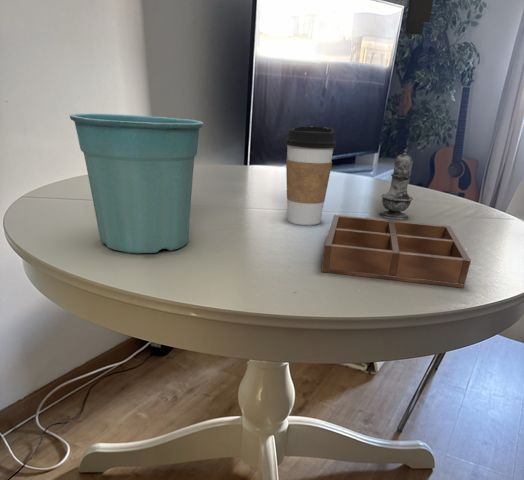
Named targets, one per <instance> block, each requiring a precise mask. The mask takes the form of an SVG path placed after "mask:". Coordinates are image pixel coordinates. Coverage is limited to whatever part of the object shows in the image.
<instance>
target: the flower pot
mask: <svg viewBox="0 0 524 480" xmlns="http://www.w3.org/2000/svg"><path fill="white" fill-rule="evenodd" d="M69 119H70V120H71V121H73V122H74V127H75V130H76V134H77V139H78V145H79V149H80V151H81V152H82V153H83V156H84V157H83V158H84V161H85V166H86V171H87V177H88V181H89V182H88V183H89V187H90V192H91V198H92V203H93V208H94V214H95V219H96V224H97V229H98V234H99V239H100V243H101V244H102V245H106V247H107V248H108V249H111V250H114V251H119V252H122V253H129V254H156V253H159V251H161V250H165V249H166V250H168V251H175V250H178V249H181V248H183V247H185V245H187V244H188V241H189V232H190V217H191V207H192V206H191V204H192V194H193V181H194V180H193V179H194V167H195V157H196V156H197V154H198V144H199V135H200V129H201V128H203V126H204V122H203V121H200V120H195V119H186V118H185V119H184V118H173V117H164V116H150V115H138V114H137V115H135V114H118V113H117V114H115V113H114V114H113V113H72V114H69Z"/></svg>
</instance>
